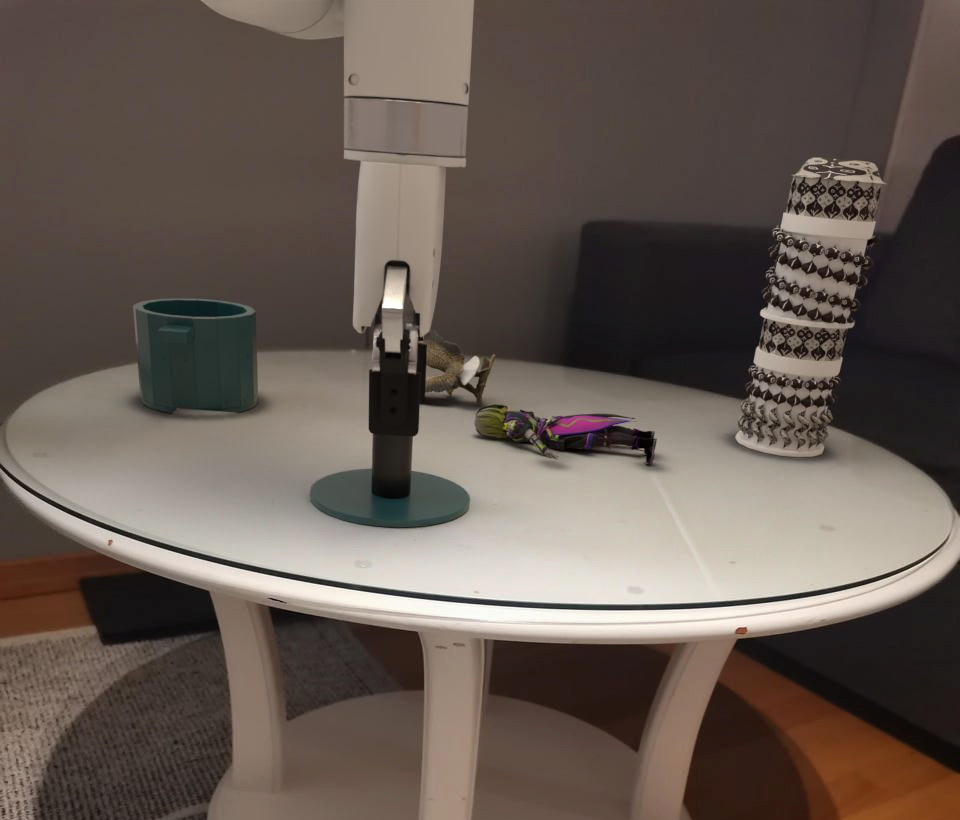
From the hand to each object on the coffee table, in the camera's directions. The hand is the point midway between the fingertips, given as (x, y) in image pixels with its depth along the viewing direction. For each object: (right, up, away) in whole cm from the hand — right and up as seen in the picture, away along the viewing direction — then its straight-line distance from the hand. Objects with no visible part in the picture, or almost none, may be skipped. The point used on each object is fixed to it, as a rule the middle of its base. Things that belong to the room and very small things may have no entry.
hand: (398, 415), depth 67 cm
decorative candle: (+35, +3, +28) cm, 45 cm away
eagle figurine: (+2, +9, +34) cm, 35 cm away
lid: (-1, -5, +3) cm, 6 cm away
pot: (-21, +7, +25) cm, 34 cm away
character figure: (+13, +1, +20) cm, 24 cm away
